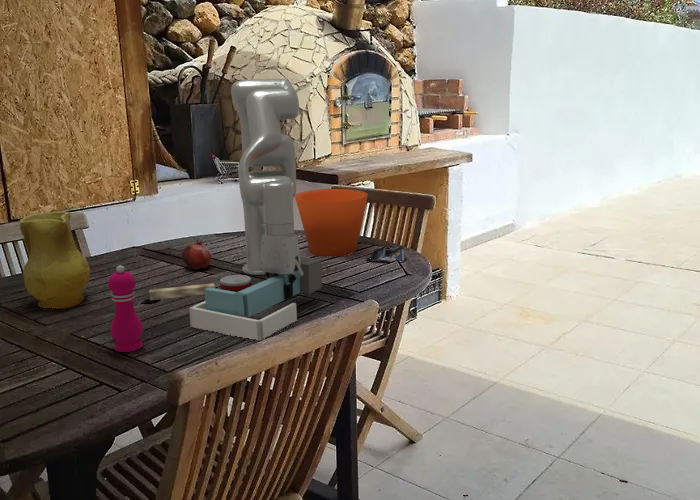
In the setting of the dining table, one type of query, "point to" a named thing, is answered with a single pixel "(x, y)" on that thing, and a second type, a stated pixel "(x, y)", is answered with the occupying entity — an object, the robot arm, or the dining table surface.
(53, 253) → the pitcher
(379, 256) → the snack package
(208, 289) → the teal gray angled bar
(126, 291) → the pepper mill
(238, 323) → the bay
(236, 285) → the canned food
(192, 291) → the stick
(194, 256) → the fruit
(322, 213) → the flowerpot
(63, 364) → the dining table surface
